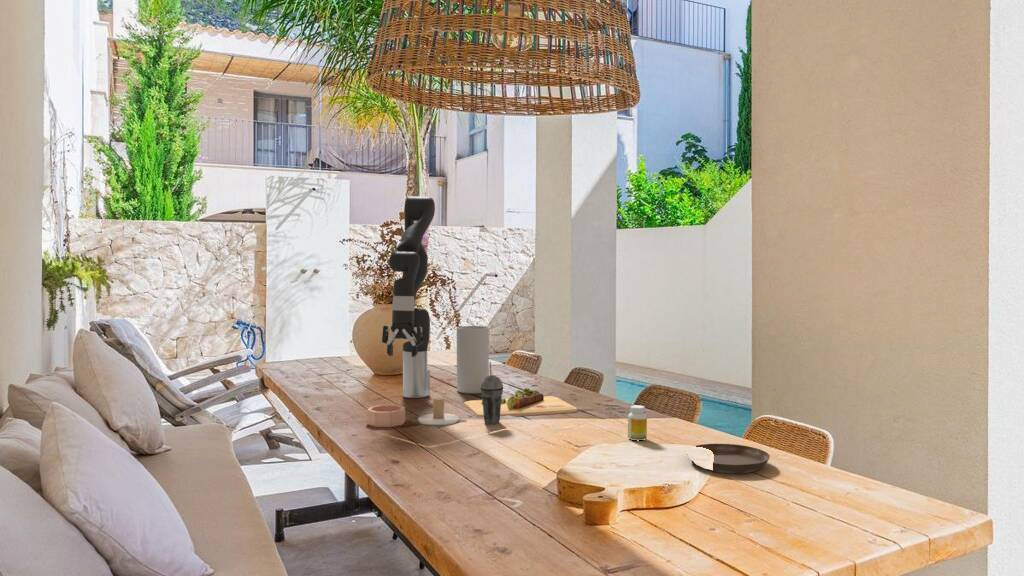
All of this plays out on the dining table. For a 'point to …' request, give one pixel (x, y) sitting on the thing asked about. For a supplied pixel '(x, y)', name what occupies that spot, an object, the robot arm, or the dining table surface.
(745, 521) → the dining table surface
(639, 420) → the supplement bottle
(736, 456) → the plant saucer
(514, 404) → the cutting board
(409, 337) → the robot arm
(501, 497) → the dining table surface
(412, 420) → the mat
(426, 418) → the lid
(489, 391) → the beverage cup
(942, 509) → the dining table surface
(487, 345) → the cylinder vase
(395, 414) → the bowl
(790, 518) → the dining table surface
